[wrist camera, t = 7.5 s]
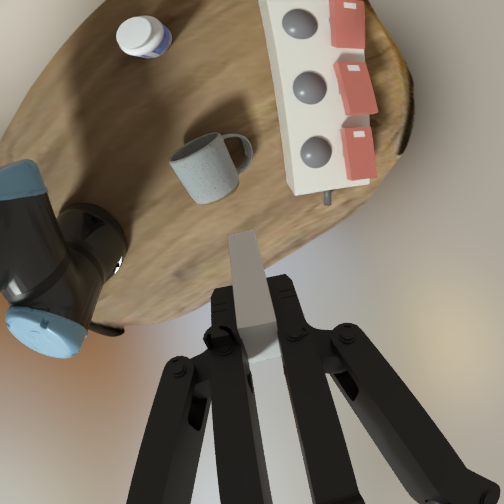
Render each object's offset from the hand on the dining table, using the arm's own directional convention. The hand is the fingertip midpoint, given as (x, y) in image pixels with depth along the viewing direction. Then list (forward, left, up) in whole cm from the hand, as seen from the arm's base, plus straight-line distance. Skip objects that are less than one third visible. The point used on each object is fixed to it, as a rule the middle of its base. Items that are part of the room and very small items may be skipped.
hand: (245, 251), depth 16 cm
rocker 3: (+17, -2, -19) cm, 26 cm away
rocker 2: (+17, +7, -19) cm, 27 cm away
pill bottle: (-7, +18, -27) cm, 33 cm away
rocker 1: (+17, +16, -19) cm, 30 cm away
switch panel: (+14, +5, -26) cm, 30 cm away
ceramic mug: (-2, -1, -27) cm, 27 cm away
